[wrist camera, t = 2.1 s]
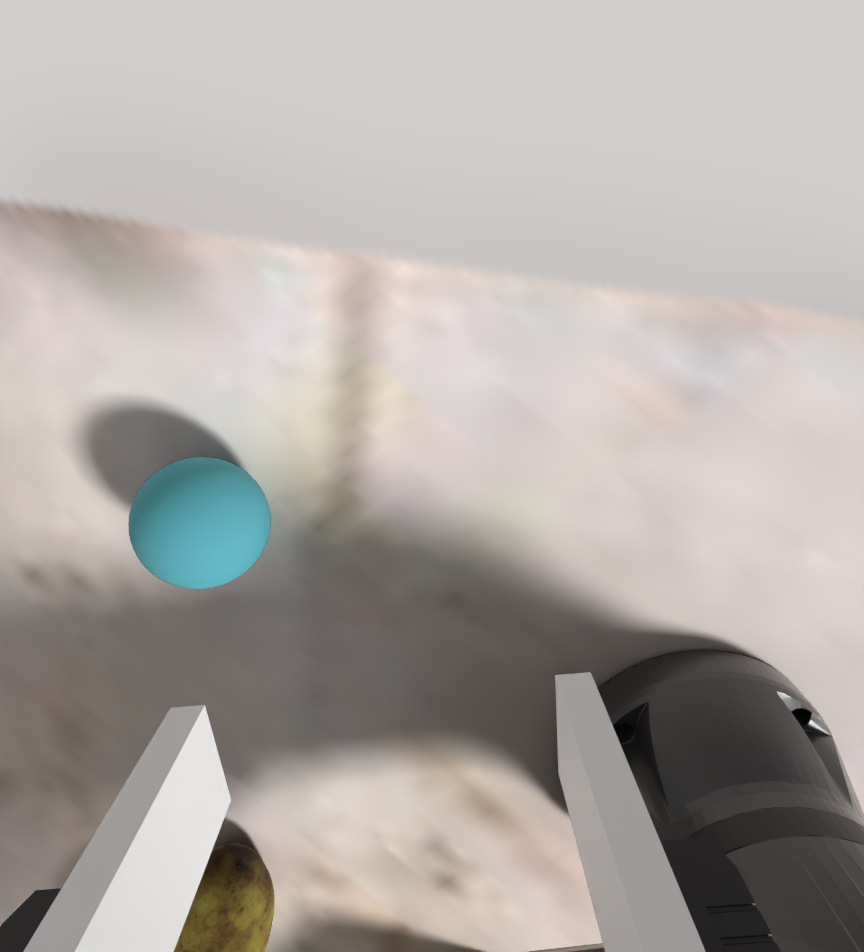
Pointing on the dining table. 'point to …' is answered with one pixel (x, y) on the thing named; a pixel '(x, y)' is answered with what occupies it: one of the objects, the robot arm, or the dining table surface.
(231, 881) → the potato
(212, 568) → the ball
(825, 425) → the dining table surface
